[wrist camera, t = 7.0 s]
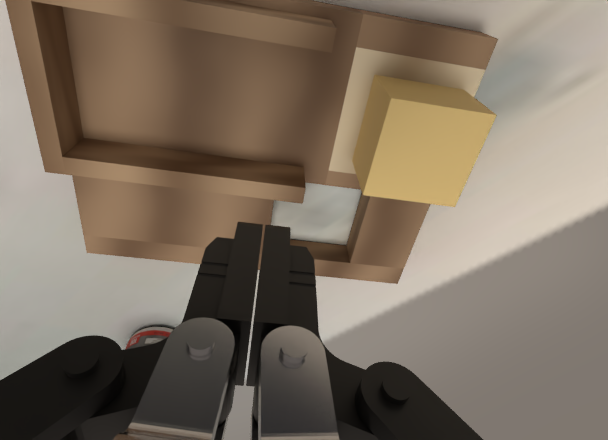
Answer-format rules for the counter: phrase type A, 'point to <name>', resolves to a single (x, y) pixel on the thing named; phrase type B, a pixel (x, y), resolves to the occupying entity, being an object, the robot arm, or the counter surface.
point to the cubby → (136, 158)
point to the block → (419, 141)
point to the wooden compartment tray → (251, 124)
